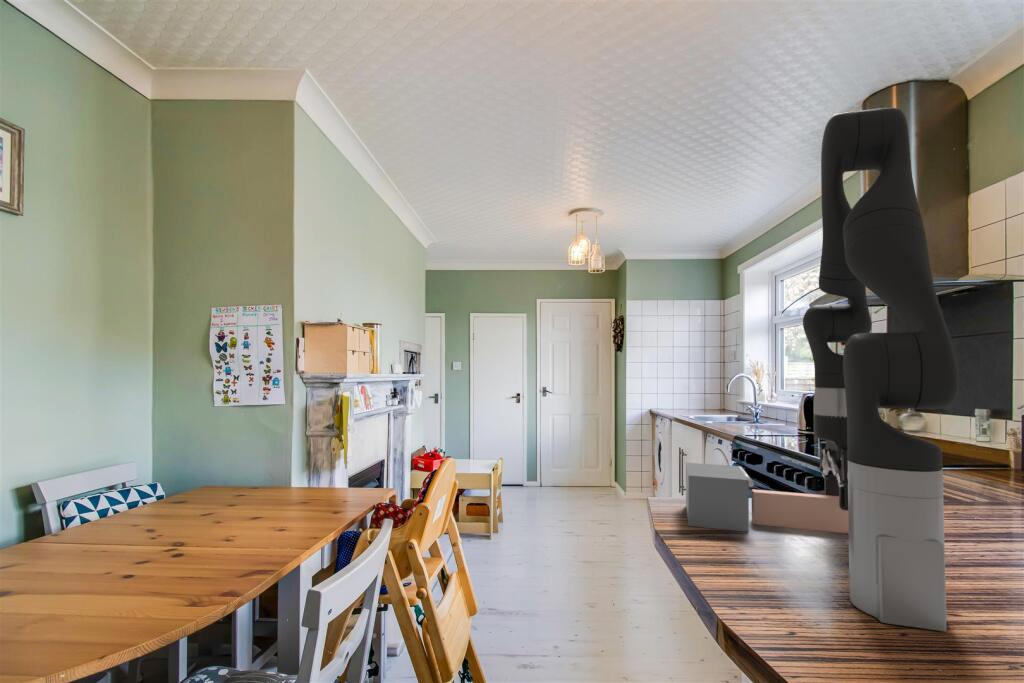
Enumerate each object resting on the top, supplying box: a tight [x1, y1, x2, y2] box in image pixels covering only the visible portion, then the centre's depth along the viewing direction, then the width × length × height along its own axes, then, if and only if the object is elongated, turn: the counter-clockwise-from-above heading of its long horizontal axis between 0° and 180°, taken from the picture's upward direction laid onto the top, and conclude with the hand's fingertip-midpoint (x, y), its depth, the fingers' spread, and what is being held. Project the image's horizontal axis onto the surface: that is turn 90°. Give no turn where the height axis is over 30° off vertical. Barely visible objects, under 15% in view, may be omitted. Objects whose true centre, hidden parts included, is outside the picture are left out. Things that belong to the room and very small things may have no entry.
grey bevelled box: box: [685, 462, 755, 533], centre depth 97 cm, size 14×11×9 cm
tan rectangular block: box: [751, 488, 849, 534], centre depth 93 cm, size 2×16×6 cm, turn 73°
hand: (839, 504), depth 91 cm, fingers open, 8 cm apart
